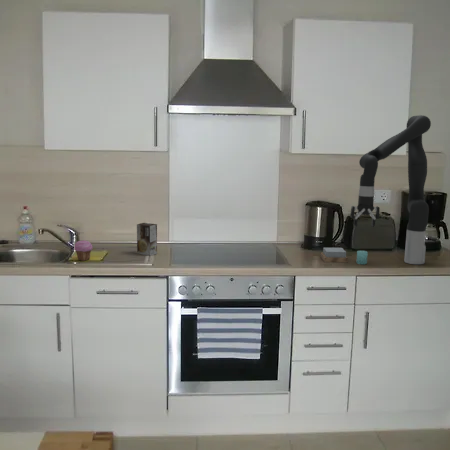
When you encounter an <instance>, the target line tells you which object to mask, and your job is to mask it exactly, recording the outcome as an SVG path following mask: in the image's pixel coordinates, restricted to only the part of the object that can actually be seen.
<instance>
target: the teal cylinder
mask: <svg viewBox="0 0 450 450" xmlns="http://www.w3.org/2000/svg"><path fill="white" fill-rule="evenodd" d="M368 253H369V252H368V251H367V250H357V251H356V261H355V262H356V264H358V265H367V263H368V255H369V254H368Z"/></svg>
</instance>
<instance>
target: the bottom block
mask: <svg viewBox="0 0 450 450" xmlns="http://www.w3.org/2000/svg"><path fill="white" fill-rule="evenodd" d="M319 257H320V258H321V259H322V261H323V262H324V263H348V262H349V258H348V257H347V256H346V258H335V257H326V256H325V255H324V254H323V252H320V254H319Z"/></svg>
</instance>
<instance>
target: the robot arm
mask: <svg viewBox="0 0 450 450" xmlns="http://www.w3.org/2000/svg"><path fill="white" fill-rule="evenodd" d="M431 126H432V123H431V119H430V118H429V117H428V116H426V115H421V114H419V115H413V116H411V117H409V118H408V120H407V121H406V128H405V129H403V130H402V131H401V132H399V133H397V134H395V135H393V136H391V137H390V138H388V139H386V140H384V141H383V142H382V143H380V144H379V145H378V146H377V147H376V148H374V149H372V150H370V151H368V152H367V153H364V154H363V155H362V156H361V158H359V166H360V167H361V168H362V169H363V172H362V173H363V174H361V176H360V178H359V187H358V188H359V189H358V199H357V200H358V201H357V206H355V205H352V206H351V207H350V218H351V219H353V226H354V227H355V228H357V227H358V218H359V217H361V215H362V216H370V217H371V221H370V222H371V225H370V226H371V227H372V228H374V227H375V226H376V220H377V219H378V220H379V219H380V210H381V209H380V207H379V206H374V200H375V179H376V175H377V172H378V167H379V161H382V160H385V159H387V158H388V157H390V156H392V154H393V153H395V152H396V151H398V150H399V149H400V148H401V147H403V146H404V145H406V144H408V145H407V146H408V147H407V157H408V159H407V177H408V179H407V180H408V197H407V198H408V199H407V211H408V213H409V215H408V223H407V226H406V236H405V249H404V260H403V261H404V263H406V264H408V265H409V264H411V265H424V264H425V263H426V262H425V261H426V249H427V248H426V247H427V246H426V244H425V243H426V231H427V227H428V222H429V215H430V214H429V213H430V208H429V207H430V206H429V204H428V203H427V202H426V201H425V192H424V190H425V184H426V180H427V175H428V159H427V155H426V152H425V150H424V149H425V148H424V146H423V134H426V133H427V132H428V131H429V130H430V128H431ZM356 210H357V212H356V214H355V211H356ZM374 211H375V215H374V213H373V212H374Z"/></svg>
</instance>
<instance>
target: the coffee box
mask: <svg viewBox="0 0 450 450" xmlns="http://www.w3.org/2000/svg"><path fill="white" fill-rule="evenodd" d="M136 250H137V251H136V254H137V255H144V256H154V255H157V254H158V224H157V223H150V222H149V223H148V222H141V223H138V224H137V223H136Z"/></svg>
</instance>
